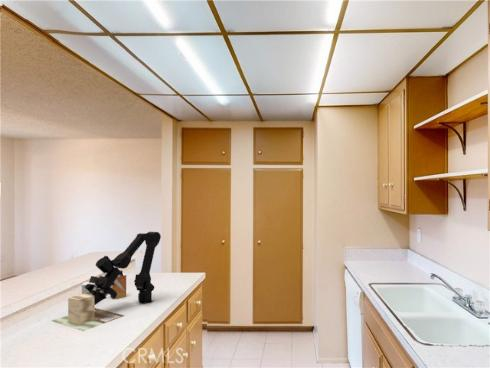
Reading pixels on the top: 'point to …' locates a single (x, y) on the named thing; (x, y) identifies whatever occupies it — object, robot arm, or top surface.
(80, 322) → the birch block
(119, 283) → the small box
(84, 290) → the supplement box
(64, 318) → the lane board
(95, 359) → the top surface
